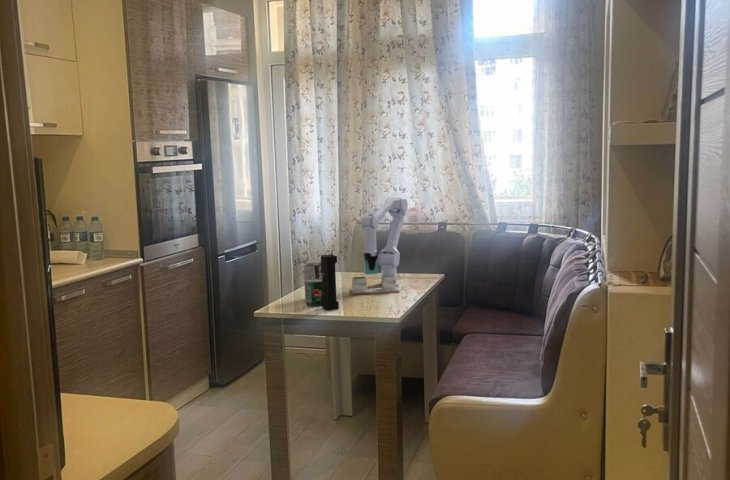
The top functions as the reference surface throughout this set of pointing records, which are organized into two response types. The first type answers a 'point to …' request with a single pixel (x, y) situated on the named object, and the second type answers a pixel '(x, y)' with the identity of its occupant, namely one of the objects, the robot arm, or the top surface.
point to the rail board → (361, 288)
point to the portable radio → (328, 282)
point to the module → (367, 270)
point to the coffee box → (312, 272)
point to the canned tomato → (313, 292)
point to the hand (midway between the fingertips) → (371, 269)
